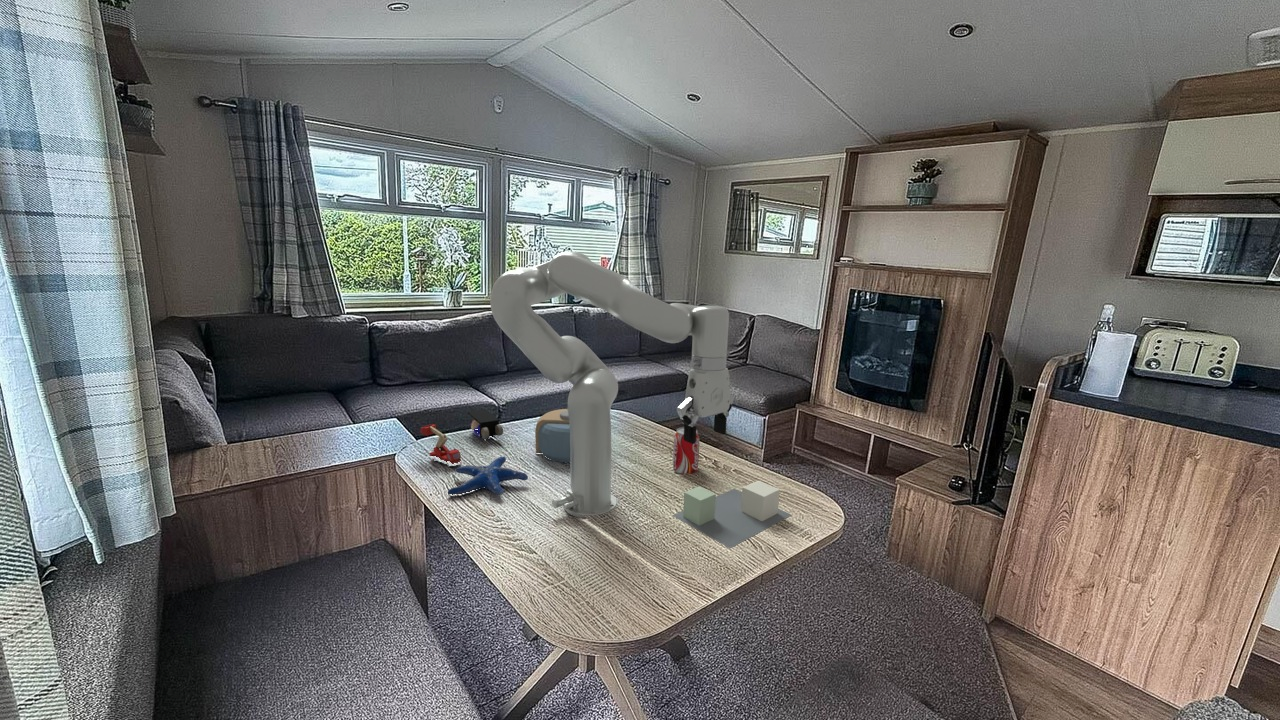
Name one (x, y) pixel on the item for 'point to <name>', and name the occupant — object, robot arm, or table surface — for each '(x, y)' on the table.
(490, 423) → the black toy truck
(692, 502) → the sage block
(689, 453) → the soda can
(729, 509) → the board
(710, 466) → the table surface
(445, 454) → the toy fire truck
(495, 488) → the starfish
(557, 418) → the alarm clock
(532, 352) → the robot arm
